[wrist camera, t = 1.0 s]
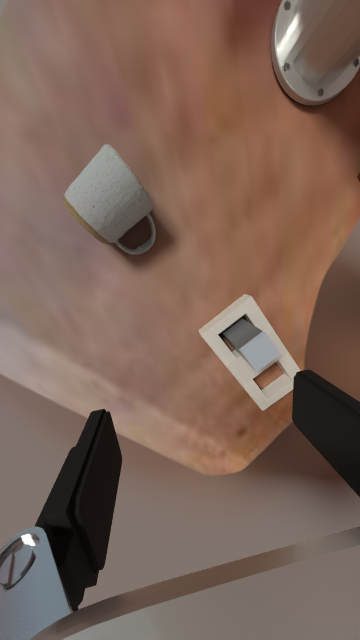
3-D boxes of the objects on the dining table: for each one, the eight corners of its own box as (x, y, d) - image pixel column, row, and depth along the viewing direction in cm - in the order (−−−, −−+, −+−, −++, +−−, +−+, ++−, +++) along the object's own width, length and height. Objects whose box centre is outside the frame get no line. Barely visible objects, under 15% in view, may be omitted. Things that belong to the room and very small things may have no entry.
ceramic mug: (73, 208, 27) (42, 187, 19) (115, 164, 26) (100, 124, 18) (130, 267, 30) (122, 269, 22) (169, 229, 29) (174, 218, 22)
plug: (237, 316, 34) (266, 333, 25) (249, 332, 35) (280, 354, 26) (219, 330, 34) (241, 351, 25) (231, 346, 35) (256, 372, 26)
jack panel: (244, 294, 33) (251, 296, 30) (297, 372, 38) (306, 379, 36) (197, 330, 33) (201, 335, 31) (256, 402, 39) (262, 411, 37)
